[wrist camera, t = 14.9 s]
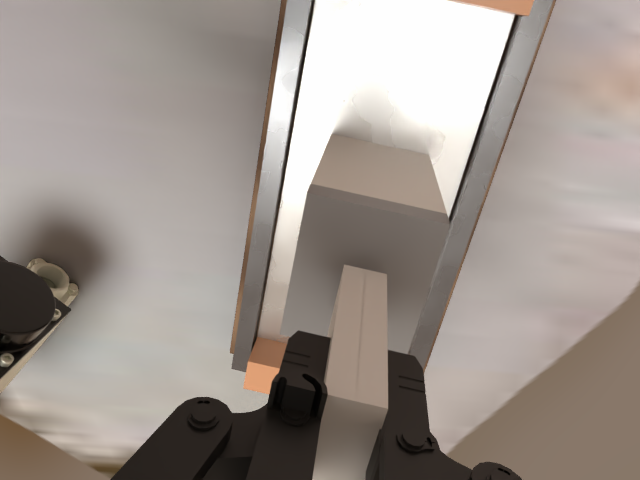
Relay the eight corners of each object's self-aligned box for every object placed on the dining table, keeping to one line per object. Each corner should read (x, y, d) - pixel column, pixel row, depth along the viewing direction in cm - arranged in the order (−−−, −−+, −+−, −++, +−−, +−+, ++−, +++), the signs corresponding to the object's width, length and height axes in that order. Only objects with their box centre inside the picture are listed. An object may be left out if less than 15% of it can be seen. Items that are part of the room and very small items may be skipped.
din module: (331, 133, 26) (306, 192, 18) (429, 155, 26) (449, 224, 18) (309, 240, 28) (279, 334, 20) (398, 260, 28) (404, 363, 20)
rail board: (298, -81, 24) (282, -96, 20) (557, -26, 23) (589, -32, 20) (234, 341, 34) (216, 382, 30) (414, 383, 34) (418, 429, 30)
